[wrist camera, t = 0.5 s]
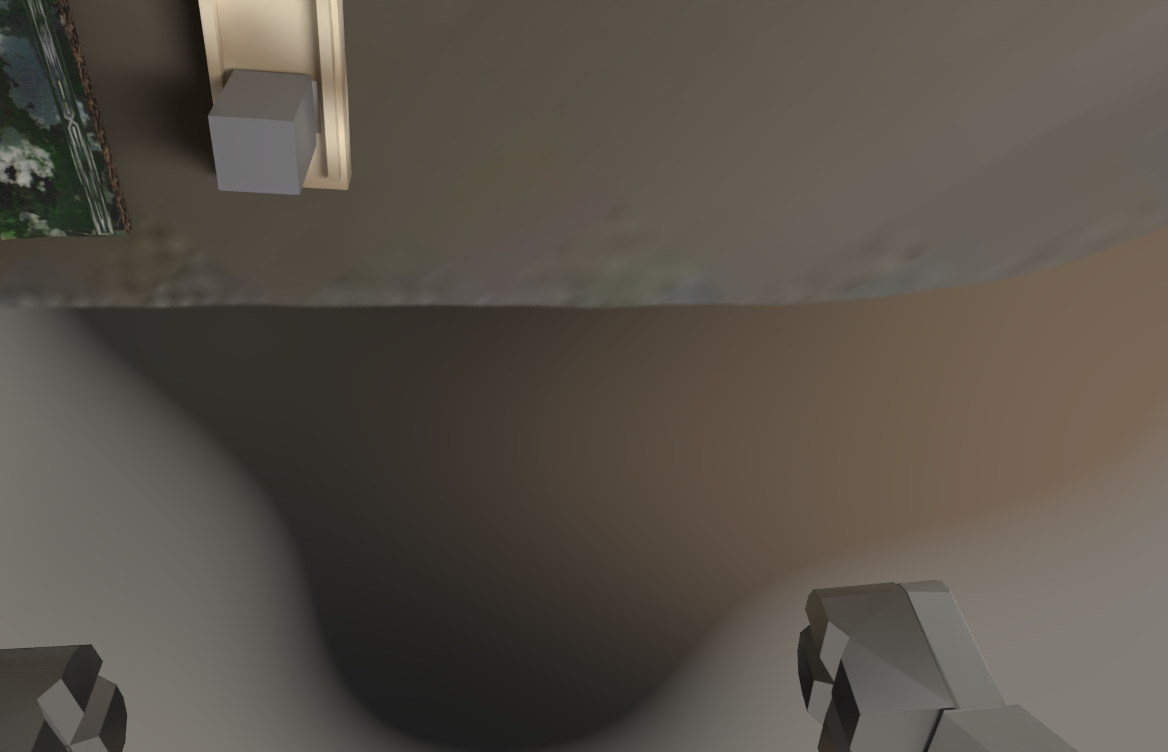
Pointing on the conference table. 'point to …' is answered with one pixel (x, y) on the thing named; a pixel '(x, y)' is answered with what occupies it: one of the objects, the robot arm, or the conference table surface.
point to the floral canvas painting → (52, 131)
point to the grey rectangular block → (263, 132)
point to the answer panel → (288, 65)
